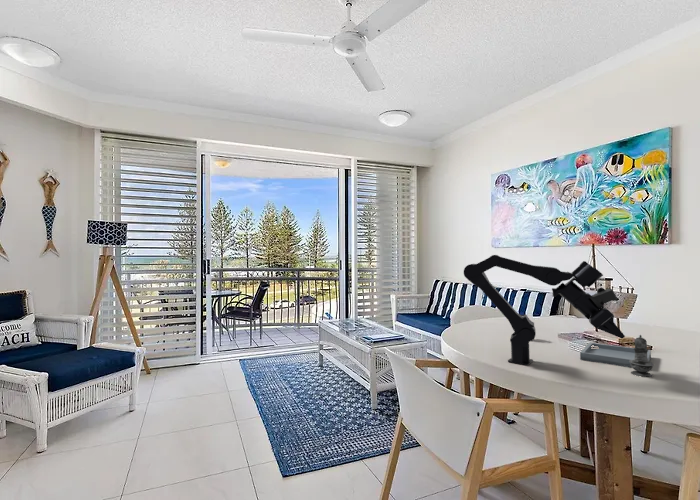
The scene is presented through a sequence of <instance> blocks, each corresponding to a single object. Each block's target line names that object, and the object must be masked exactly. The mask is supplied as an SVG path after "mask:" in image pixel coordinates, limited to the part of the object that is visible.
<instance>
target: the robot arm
mask: <svg viewBox="0 0 700 500" xmlns="http://www.w3.org/2000/svg"><path fill="white" fill-rule="evenodd" d="M495 267H497V268H501V269H504V270H508V271H511V272H515V273H519V274H522V275H526V276H530V277H532V278H534V279H536V280H538V281H540V282H542V283H544V284H546V285H548V286H557V287H556V288H554V287H552V288H551V291H552V297H554V298H556V297H557V296H558V295H560V296H561V297H562V298H563V299H564V300H566V302H567V303H569V304H570V305H571V306H572V307H573V309H574V308H575V310H577V311H579V312H580V314H581V315H583V316H584V318H586V319H587V320H588V321H589V323H590V325H591V326H593V327H594V328H595V329H597V330H600V331H602V332H605V333H607V334H610V335H613V336H615V337H617V338H620V339H624V338H625V337H626V335H625V334H624V333H623V332H622V331H621V329H620V328H619V327H618V326H617V324H616V323H615V321H614V317H615V315H614V313H612V311H610V310H609V309H607V308H606V307H604V304H607V303H610V302H612V301H613V302H615V301H617V300H618V299H619V298H618V297H617V295H616V293H615V292H614V290H613V289H612V288H606V289H605V288H603V287H598V288H596V292H595V293H594V294H592V295H591V294H590V293H587V292H586V291H584V289H582V288H585V287H587V288H591V286H593V285H594V284H595V283H596V282H597V281H599V280H600V279H601V278H602V277H603V276H604V274H603V273H602V272H601V271H600V270H599V269H597V268H595V267H594V266H592V265H591V264H589V262H587V261H585V260H583V261H582V262H581V263H580V264H579V265H578V266H577V267H576V268H575V269H574V270H572V272H570V271H562V270H560V269H559V268H557V267H553V266H552V267H551V266H541V265H533V264H530V263H525V262H522V261H517V260H514V259H510V258H507V257H503V256H500V255H498V254H491V256H489V257H487V258H485V259H484V260H482V261H480V262H477V263H471V264H468V265H466V266H465V267H463V268H464V269H463V276H464V278H465V279H467V280H468V281H469V282H471V284H473V285H474V286H475V287H477V288H478V289H480V290H481V291H482V292H483V293H484V294H485V296H486V297H487V298H488V299H489V300H490V301H491V302H492V304H493V305H494V306H495V307H496V308H497V309H498V311H499V312H501V314H502V315H503V316H504V317H505V318H506V319H507V321H508V322H509V325H510V326H511V328H512V330H513V333H511V336H510V340H509V341H510V353H511V355H510V357H511V358H509V359H507V362H508V363H512V364H513V363H514V364H518V365H523V366H528V365H530V364H531V363H533V362H534V359H532V358H530V342H532V341H533V340H534V339H535V338H536V333H537V332H536V327H535V322H534V321H532V320H531V319H530V318H529V317H528V315H527V314H526V313H525V314H524V315H521V314H520V313H518V311H516V309H515V308H514V307H513V306H512V305H511V304H510V303H509V302H508V301H507V300H506V299H505V297H504V296H503V295H502V294H501V293H500V292H499V290H498V289H497V288H496V287H495V286H494V285H493V283H492V282H490V280H489V278H488V277H487V275H486V273H485V272H486V271H489V270H490V269H492V268H495ZM565 281H567V282H566V283H564V282H565ZM576 283H577V284H578V285H577V284H576ZM581 287H582V288H581Z"/></svg>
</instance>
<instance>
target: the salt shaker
mask: <svg viewBox="0 0 700 500" xmlns="http://www.w3.org/2000/svg"><path fill="white" fill-rule="evenodd" d="M647 343H648V342H647V339H645V338H644V337H642V335H641V334H640V335H639V336H638V337H636V338H635V339H634V347H633V348H634V349H633V350H635V357H634V359H633V360H630V361H629V362H630V365H631V367H632V368H631V369H633V370H631V371H630V374H631V375H633V376H635V375H636V376H635V377H639V376H641V378H653V377H654V376H653V375H654V374H652V373H650V372H651V371H652V369H653V367H654V363H653V362H651V361H650V362H649V361H648V358H647V352H648V350H649V349H648V348H647V347H648V346H647ZM652 376H653V377H652Z"/></svg>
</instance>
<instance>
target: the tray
mask: <svg viewBox="0 0 700 500" xmlns="http://www.w3.org/2000/svg"><path fill="white" fill-rule="evenodd" d="M592 345H594V346H598V347H599V349H591V346H592ZM634 348H635V347H630V346H628V347H627V346H620V345H612V344H605V343H597V342H596V343H595V342H588V344H587V345H586V346H584V348H583V349H582V350H581V351H580V352H579V356H580V357H579V359H580V360H581V361H586V362H591V363H600V364H604V365H605V364H606V365H610V366H611V365H613V366H618V367H619V366H620V367H625V368H629V369H630V368H631V369H633V368H632V367H631V365H630V362H629V361H630V360H633V359H634V357H635V350H633V349H634ZM647 350H648V352H647V358H648V361H649V362H651V358H652V356H651V354H652V351H651V349H647Z"/></svg>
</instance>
